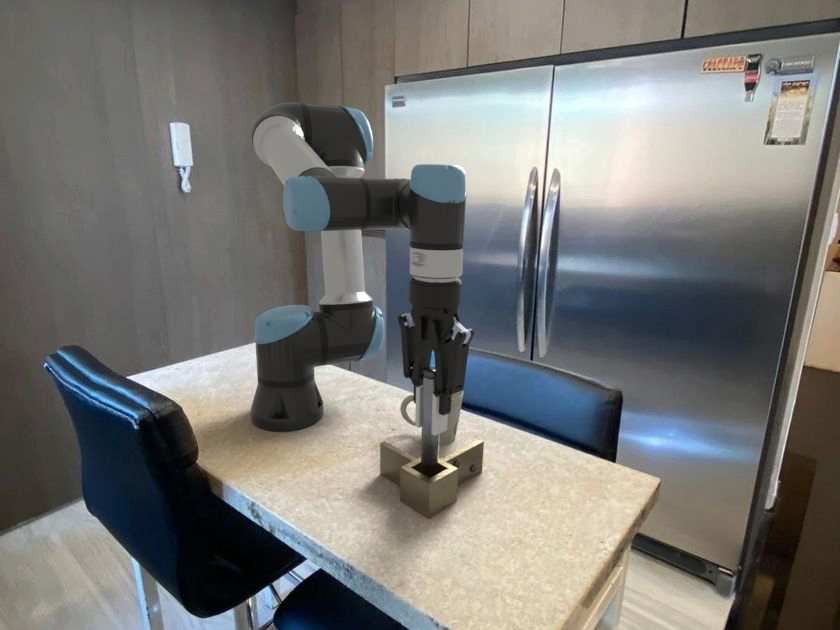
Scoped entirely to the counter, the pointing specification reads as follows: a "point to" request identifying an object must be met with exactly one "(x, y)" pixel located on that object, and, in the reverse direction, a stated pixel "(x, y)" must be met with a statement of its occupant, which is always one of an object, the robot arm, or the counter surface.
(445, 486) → the hinge
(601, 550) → the counter surface
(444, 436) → the mug
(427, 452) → the pin
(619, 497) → the counter surface
